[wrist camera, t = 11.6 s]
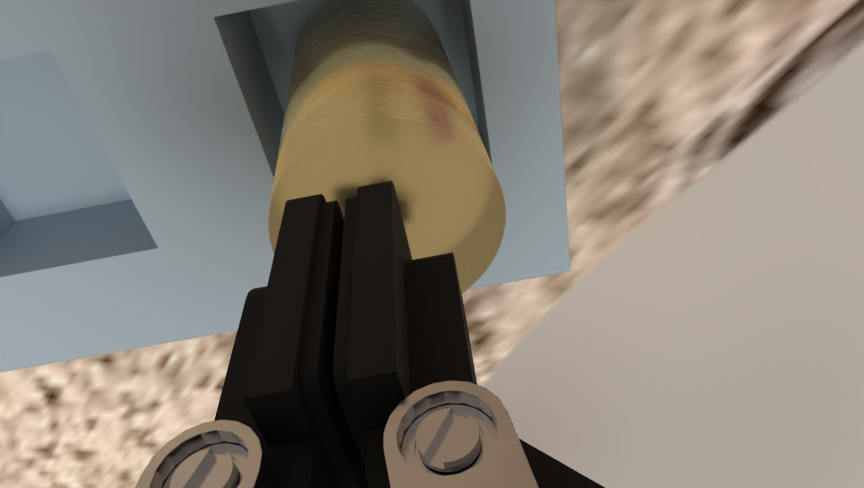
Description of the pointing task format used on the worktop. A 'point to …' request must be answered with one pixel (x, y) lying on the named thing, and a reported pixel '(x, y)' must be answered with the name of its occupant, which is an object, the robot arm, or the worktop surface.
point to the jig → (213, 159)
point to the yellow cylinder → (388, 130)
